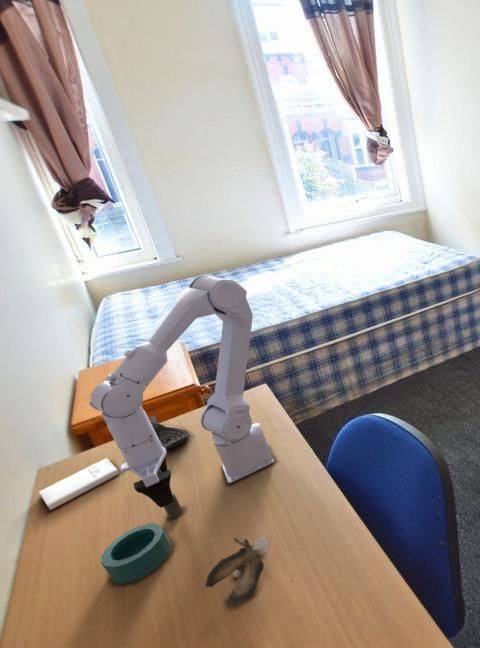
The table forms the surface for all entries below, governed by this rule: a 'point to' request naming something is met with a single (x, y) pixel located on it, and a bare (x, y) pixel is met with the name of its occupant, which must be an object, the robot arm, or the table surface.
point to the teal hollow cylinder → (136, 553)
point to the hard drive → (78, 483)
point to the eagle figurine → (241, 569)
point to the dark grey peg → (172, 505)
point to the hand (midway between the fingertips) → (165, 493)
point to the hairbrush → (168, 433)
